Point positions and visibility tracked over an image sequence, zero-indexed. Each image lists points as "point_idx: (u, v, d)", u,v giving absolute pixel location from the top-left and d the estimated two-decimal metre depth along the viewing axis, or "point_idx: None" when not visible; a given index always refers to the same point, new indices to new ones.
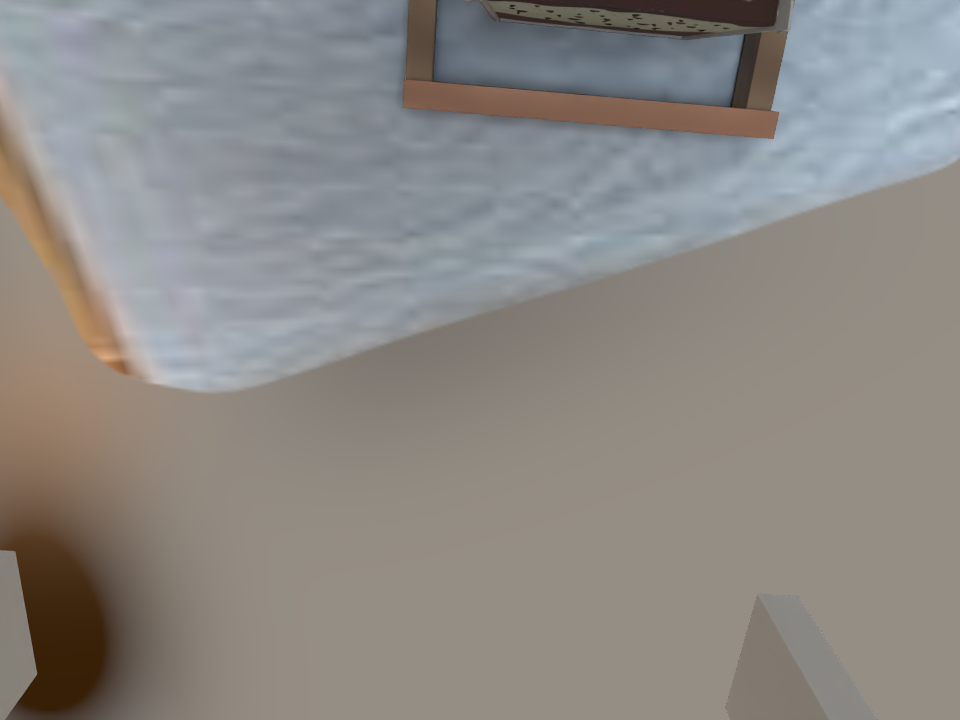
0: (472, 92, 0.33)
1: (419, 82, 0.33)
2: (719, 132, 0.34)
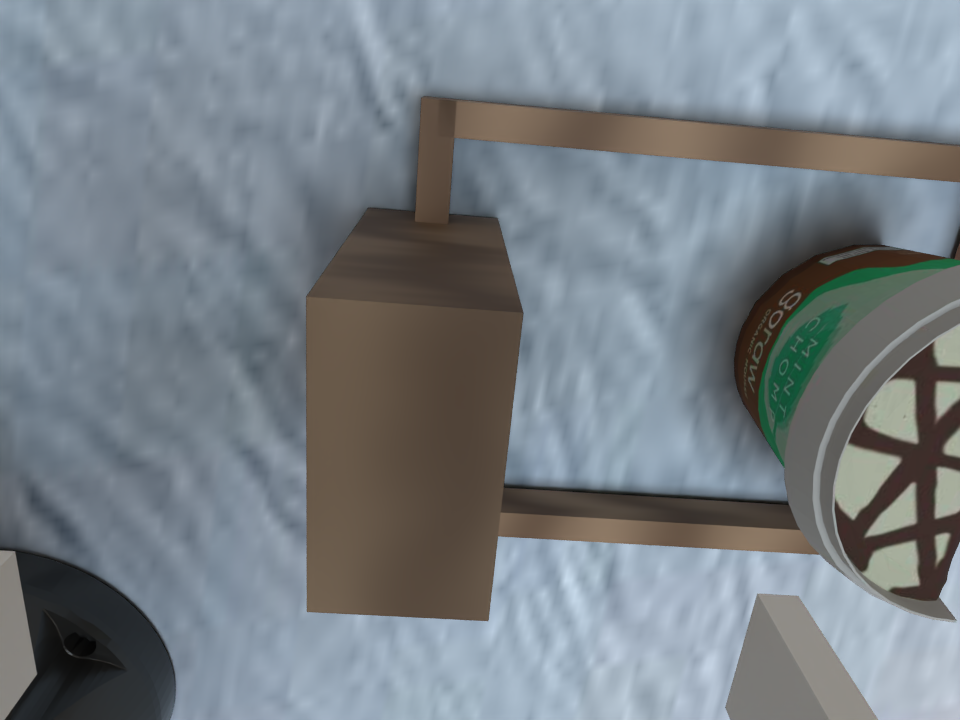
0: None
1: None
2: None
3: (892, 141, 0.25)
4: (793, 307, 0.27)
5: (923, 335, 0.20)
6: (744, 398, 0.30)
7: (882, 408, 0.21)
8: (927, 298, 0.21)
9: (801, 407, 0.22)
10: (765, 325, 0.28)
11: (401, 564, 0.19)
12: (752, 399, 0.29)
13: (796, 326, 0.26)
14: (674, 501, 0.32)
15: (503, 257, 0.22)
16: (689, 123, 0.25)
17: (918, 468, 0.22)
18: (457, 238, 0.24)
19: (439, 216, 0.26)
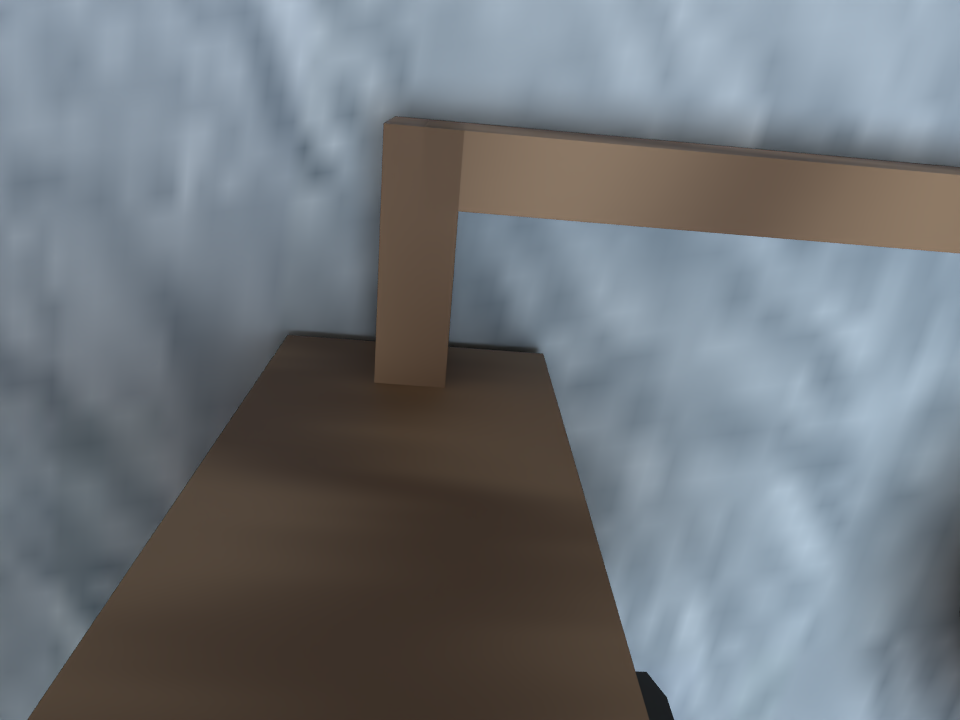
0: None
1: None
2: None
3: None
4: None
5: None
6: None
7: None
8: None
9: None
10: None
11: None
12: None
13: None
14: None
15: (589, 559, 0.08)
16: None
17: None
18: (465, 454, 0.10)
19: (426, 372, 0.12)
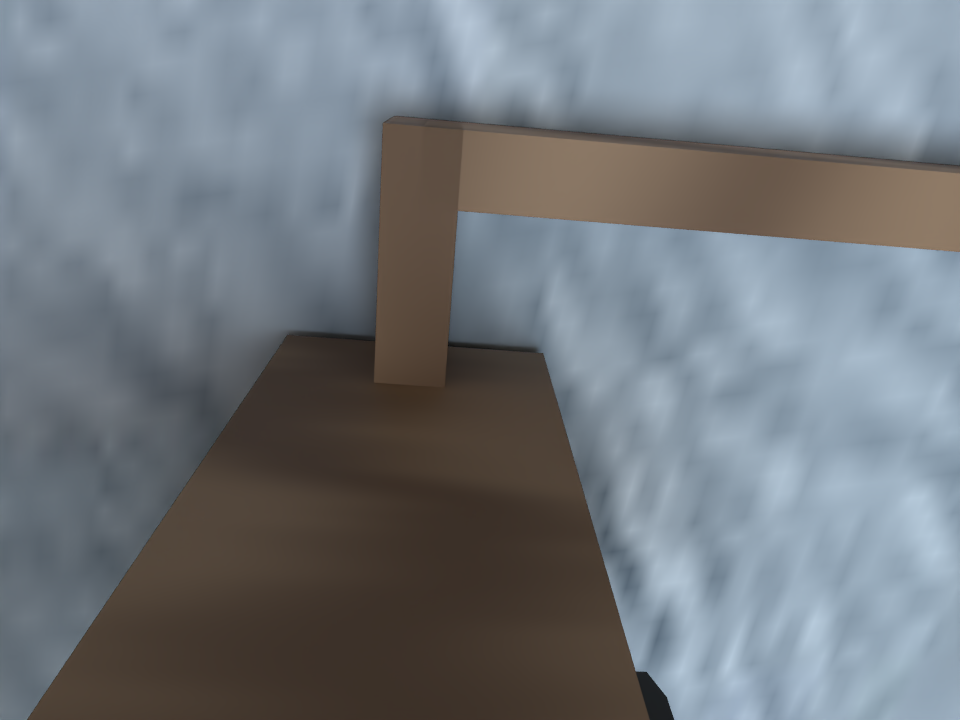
0: None
1: None
2: None
3: None
4: None
5: None
6: None
7: None
8: None
9: None
10: None
11: None
12: None
13: None
14: None
15: (589, 558, 0.08)
16: None
17: None
18: (465, 454, 0.10)
19: (426, 371, 0.12)
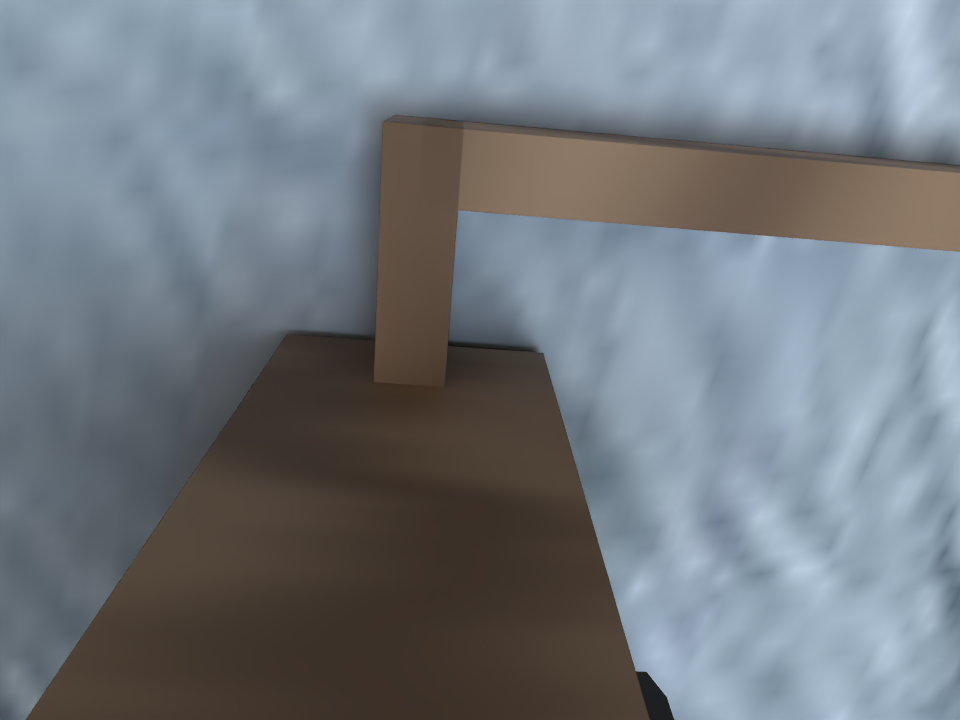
0: None
1: None
2: None
3: None
4: None
5: None
6: None
7: None
8: None
9: None
10: None
11: None
12: None
13: None
14: None
15: (590, 559, 0.08)
16: None
17: None
18: (465, 454, 0.10)
19: (426, 371, 0.12)
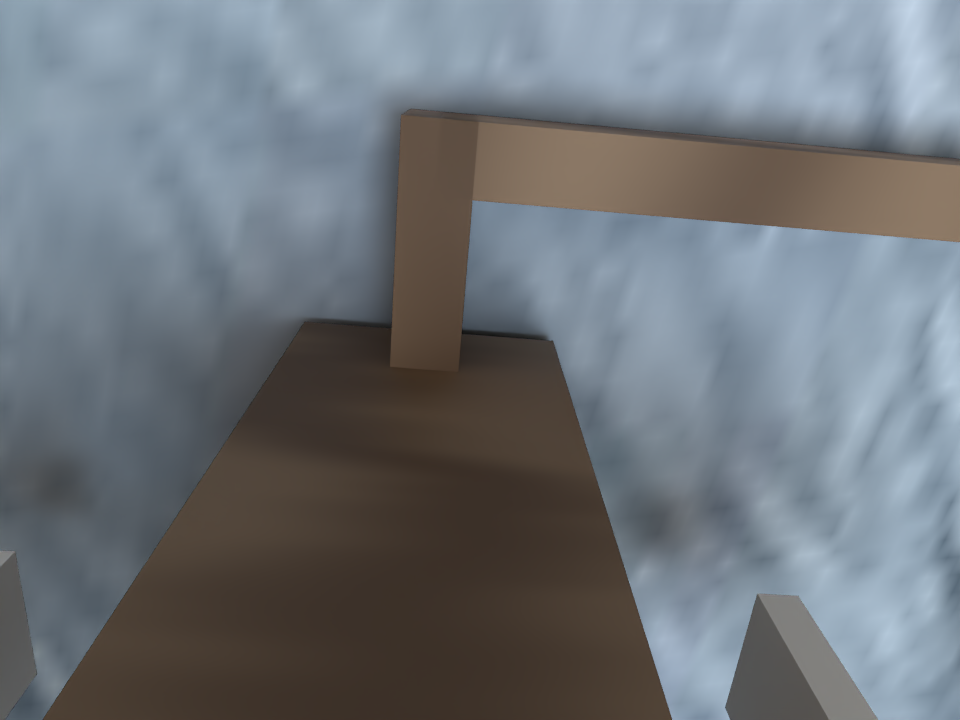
0: None
1: None
2: None
3: None
4: None
5: None
6: None
7: None
8: None
9: None
10: None
11: None
12: None
13: None
14: None
15: (600, 530, 0.09)
16: None
17: None
18: (479, 434, 0.11)
19: (440, 356, 0.13)
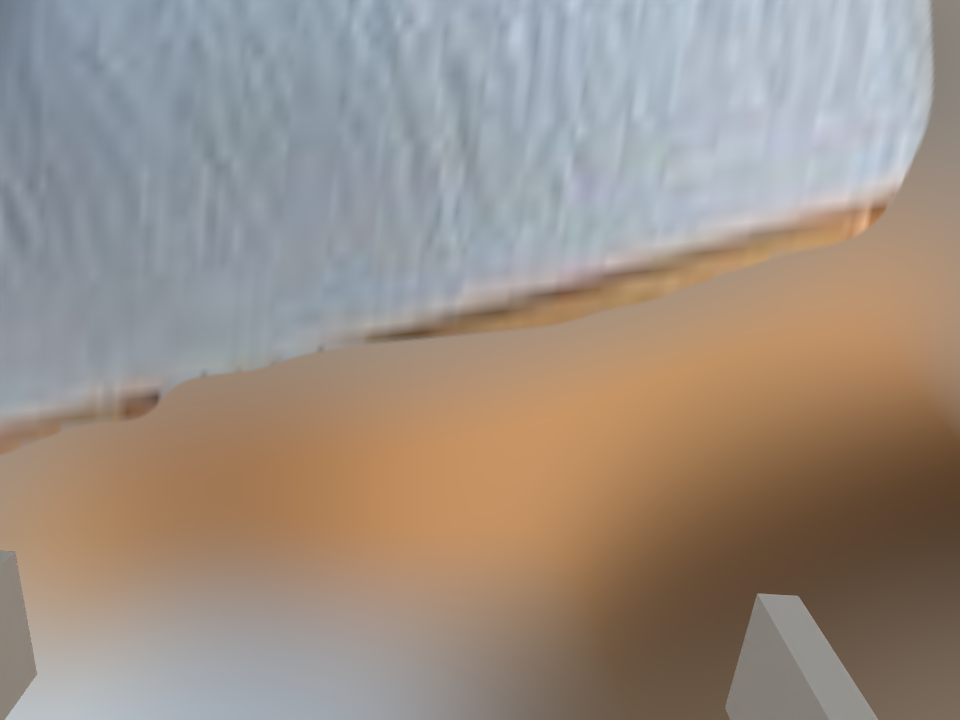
0: None
1: None
2: None
3: None
4: None
5: None
6: None
7: None
8: None
9: None
10: None
11: None
12: None
13: None
14: None
15: None
16: None
17: None
18: None
19: None
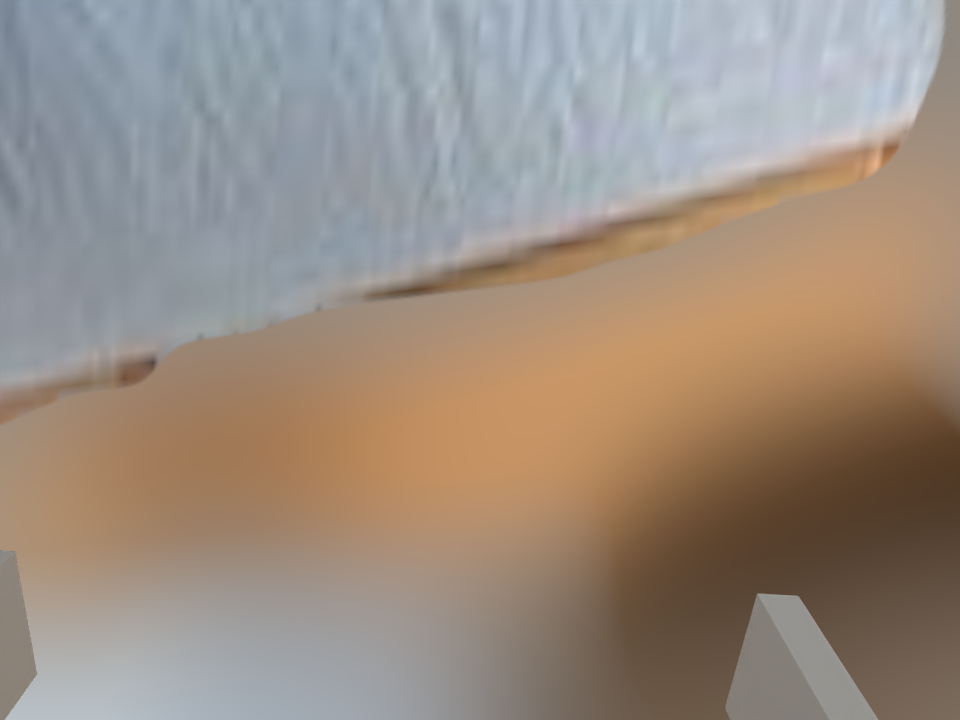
0: None
1: None
2: None
3: None
4: None
5: None
6: None
7: None
8: None
9: None
10: None
11: None
12: None
13: None
14: None
15: None
16: None
17: None
18: None
19: None
